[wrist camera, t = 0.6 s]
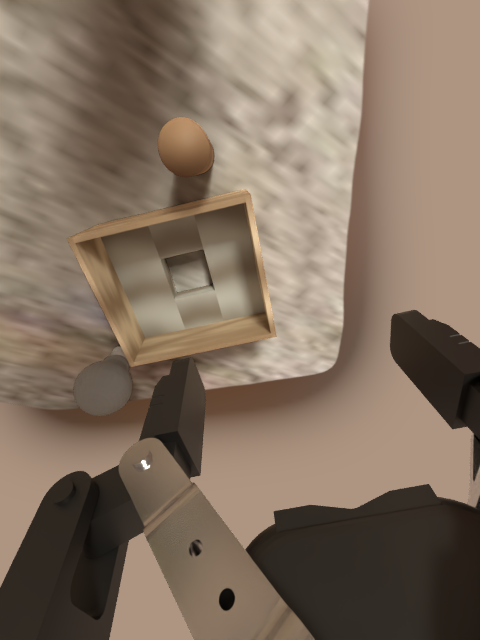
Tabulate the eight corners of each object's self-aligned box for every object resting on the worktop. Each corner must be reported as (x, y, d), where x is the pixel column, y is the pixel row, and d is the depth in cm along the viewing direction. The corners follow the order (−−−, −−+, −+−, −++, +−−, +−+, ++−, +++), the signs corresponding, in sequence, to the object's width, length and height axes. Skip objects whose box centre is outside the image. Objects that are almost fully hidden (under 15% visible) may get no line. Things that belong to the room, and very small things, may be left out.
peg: (174, 138, 27) (150, 124, 18) (209, 129, 27) (201, 111, 18) (185, 177, 29) (167, 182, 20) (218, 169, 28) (215, 170, 20)
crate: (98, 224, 30) (66, 238, 24) (245, 189, 29) (250, 194, 23) (146, 333, 37) (131, 366, 31) (267, 307, 36) (276, 336, 30)
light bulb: (155, 348, 38) (134, 403, 29) (132, 376, 40) (106, 435, 31) (114, 324, 36) (78, 375, 27) (92, 355, 38) (52, 412, 29)
